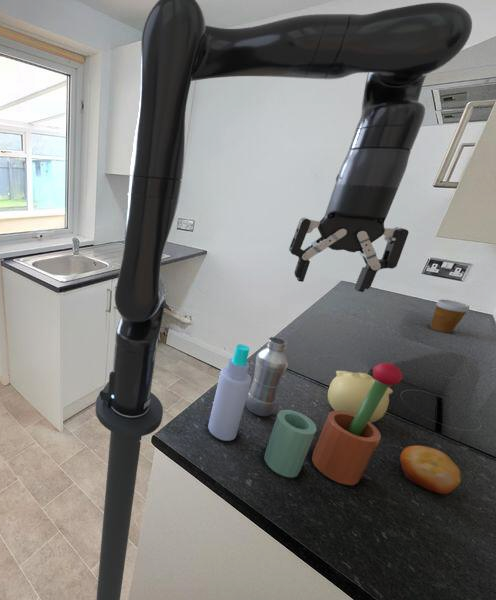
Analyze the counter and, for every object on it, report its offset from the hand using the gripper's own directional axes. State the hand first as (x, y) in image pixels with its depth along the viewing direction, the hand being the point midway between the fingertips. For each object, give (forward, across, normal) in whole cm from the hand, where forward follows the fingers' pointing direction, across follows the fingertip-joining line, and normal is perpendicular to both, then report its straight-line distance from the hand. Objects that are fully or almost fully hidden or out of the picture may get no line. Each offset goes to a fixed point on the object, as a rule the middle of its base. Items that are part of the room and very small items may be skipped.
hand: (328, 285), depth 53 cm
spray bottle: (+38, -9, +1) cm, 39 cm away
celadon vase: (+37, +2, -3) cm, 38 cm away
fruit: (+37, +27, +5) cm, 46 cm away
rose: (+36, +12, +1) cm, 38 cm away
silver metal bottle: (+38, -2, +13) cm, 40 cm away
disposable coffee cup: (+36, +73, +106) cm, 134 cm away
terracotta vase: (+37, +12, +1) cm, 39 cm away
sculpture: (+37, +20, +23) cm, 48 cm away
